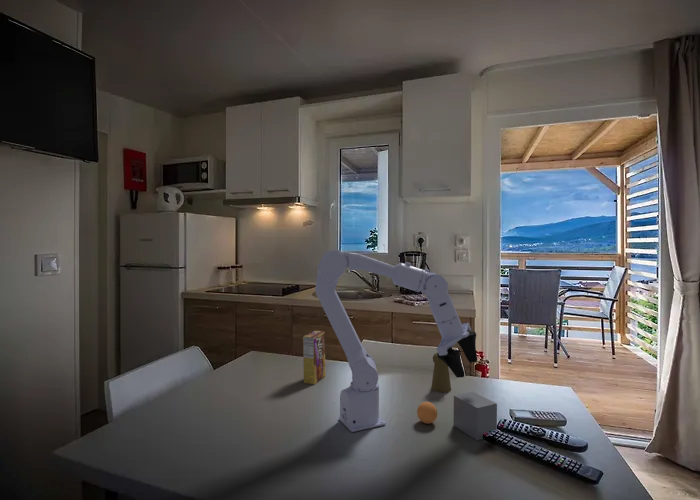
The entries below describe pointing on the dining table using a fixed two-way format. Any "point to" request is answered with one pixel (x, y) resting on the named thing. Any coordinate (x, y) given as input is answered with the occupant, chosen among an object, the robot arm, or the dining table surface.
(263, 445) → the dining table surface
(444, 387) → the cork
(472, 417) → the dark gray square block
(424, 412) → the ball
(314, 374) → the candy box
